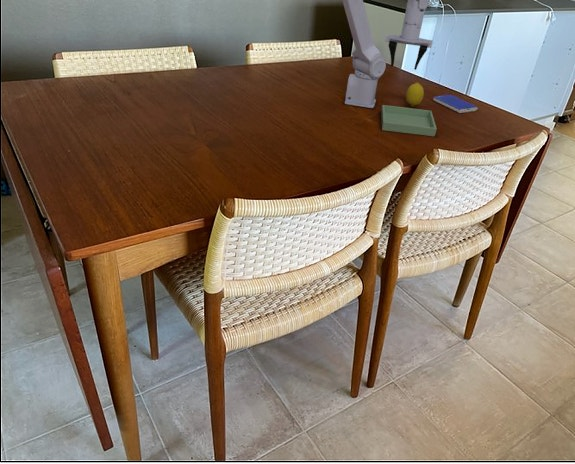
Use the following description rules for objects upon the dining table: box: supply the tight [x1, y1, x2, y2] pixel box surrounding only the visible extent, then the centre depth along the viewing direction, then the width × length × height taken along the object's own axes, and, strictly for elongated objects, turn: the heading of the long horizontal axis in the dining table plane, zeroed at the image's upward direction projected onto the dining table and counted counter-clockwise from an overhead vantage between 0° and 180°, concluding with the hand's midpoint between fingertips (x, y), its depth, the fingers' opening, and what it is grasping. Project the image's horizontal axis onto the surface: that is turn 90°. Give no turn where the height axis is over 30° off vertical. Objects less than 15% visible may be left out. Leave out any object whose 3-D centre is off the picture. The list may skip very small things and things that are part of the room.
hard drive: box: [432, 94, 478, 114], centre depth 158 cm, size 2×8×12 cm
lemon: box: [405, 82, 425, 108], centre depth 152 cm, size 6×6×8 cm
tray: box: [380, 104, 438, 137], centre depth 141 cm, size 15×15×2 cm
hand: (403, 67), depth 155 cm, fingers open, 7 cm apart
